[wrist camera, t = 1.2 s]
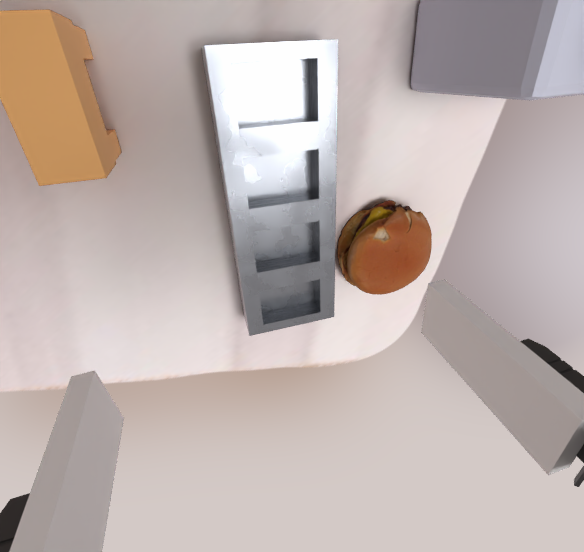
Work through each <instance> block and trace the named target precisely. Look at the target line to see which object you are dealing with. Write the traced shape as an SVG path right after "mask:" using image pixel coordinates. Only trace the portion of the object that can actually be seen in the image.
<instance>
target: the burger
mask: <svg viewBox="0 0 584 552" xmlns="http://www.w3.org/2000/svg"><path fill="white" fill-rule="evenodd" d="M395 204H396V203H395V202H394V201H390V200H388V201H384V203H381V204H378V205H376V206H375V207H374V208H371V209H369V210H362V211H359V212H358V213H357V214H355V215H354V216H353V217H352V218H351V219H350V220H349V221H348V222H347V224H346V225H345V227H344V228H343V230H342V235H341V236H340V237H339V241H338V259H339V265H340V267H341V269H342V274H343V275H344V278H345V279H346V281H348V282H349V283H350V284H352V285H354V286H357V287H358V288H359V289H360V290H362V291H364V292H366V293H370V294H387V293H391V292H394V291H397V290H399V289H401V288H403V287H405V286H406V285H408V284H410V283H411V282H412V281H414V280H415V279H416V278H417V277H418V276H419V275H420V274H421V273H422V272H423V271H424V270H425V268H426V265H427V263H428V261H429V258H430V254H431V230H430V226H429V224H428V221H427V220H426V218H425V216H424V215H423V214H422V213H421V212H415V211H412V209H411V208H410V207H409V206H405V207H402V206H401V205H398V206H395Z"/></svg>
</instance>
